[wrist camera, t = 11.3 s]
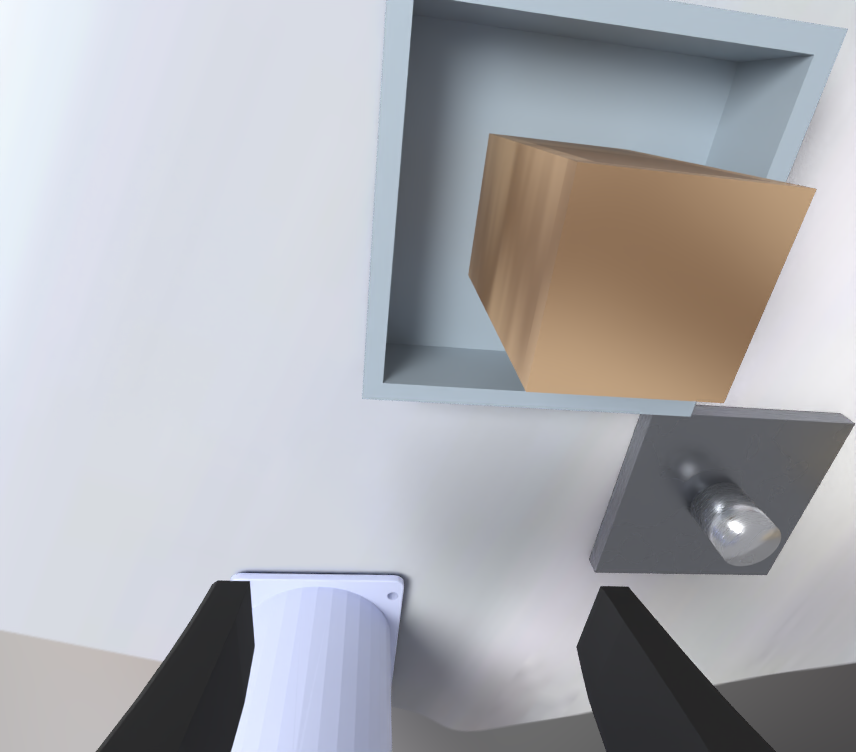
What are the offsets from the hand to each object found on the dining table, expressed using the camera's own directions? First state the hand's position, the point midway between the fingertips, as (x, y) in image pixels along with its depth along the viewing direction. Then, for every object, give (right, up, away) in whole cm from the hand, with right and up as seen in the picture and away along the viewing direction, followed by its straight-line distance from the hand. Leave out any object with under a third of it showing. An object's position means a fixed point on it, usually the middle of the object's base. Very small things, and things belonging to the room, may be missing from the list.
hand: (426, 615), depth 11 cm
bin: (+4, +10, +7) cm, 13 cm away
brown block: (+4, +10, +6) cm, 13 cm away
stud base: (+13, 0, +13) cm, 19 cm away
